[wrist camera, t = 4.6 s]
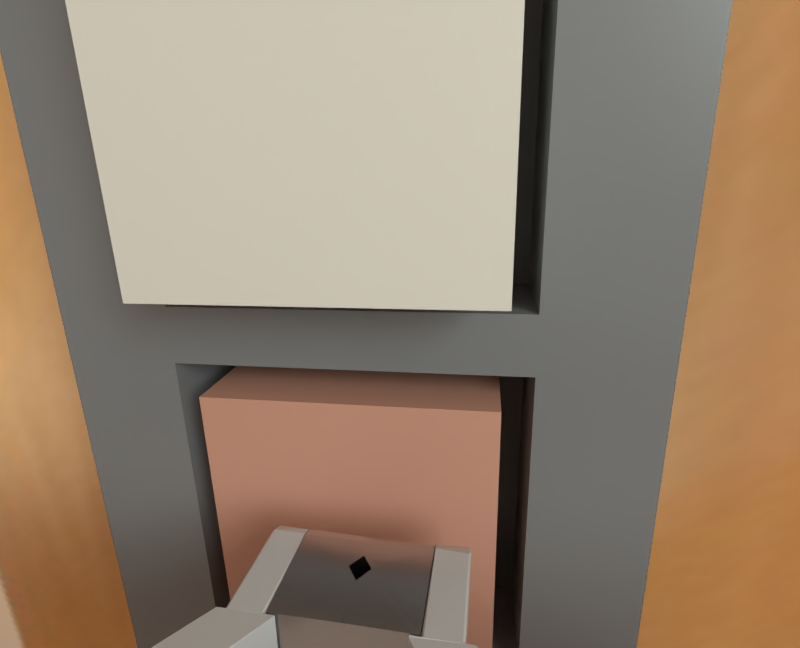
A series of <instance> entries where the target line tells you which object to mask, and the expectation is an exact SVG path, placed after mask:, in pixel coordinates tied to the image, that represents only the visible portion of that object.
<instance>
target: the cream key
mask: <svg viewBox="0 0 800 648" xmlns="http://www.w3.org/2000/svg"><path fill="white" fill-rule="evenodd" d="M65 3H66V8H67V14H68V19H69V24H70V29H71V34H72V40H73V45H74V50H75V55H76V60H77V66H78V71H79V76H80V81H81V87H82V92H83V97H84V102H85V107H86V113H87V118H88V123H89V128H90V133H91V139H92V144H93V149H94V154H95V160H96V165H97V170H98V175H99V180H100V186H101V191H102V196H103V201H104V206H105V212H106V217H107V222H108V227H109V232H110V238H111V243H112V248H113V253H114V259H115V264H116V269H117V274H118V279H119V285H120V290H121V295H122V300H123V303H125V304H174V305H224V306H274V307H324V308H374V309H424V310H473V311H512V289H513V266H514V242H515V219H516V196H517V172H518V149H519V126H520V102H521V79H522V56H523V33H524V9H525V0H65Z"/></svg>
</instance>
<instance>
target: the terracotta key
mask: <svg viewBox="0 0 800 648" xmlns="http://www.w3.org/2000/svg"><path fill="white" fill-rule="evenodd" d="M199 400H200V407H201V413H202V420H203V426H204V433H205V439H206V446H207V452H208V459H209V465H210V471H211V478H212V484H213V491H214V497H215V504H216V510H217V517H218V523H219V530H220V536H221V543H222V549H223V555H224V562H225V568H226V575H227V581H228V588H229V594H230V601H231V599H232V597H233V596H234V594H235V592H236V591H237V589H238V588H239V586H240V584H241V583H242V581H243V579H244V578H245V576H246V574H247V573H248V571H249V569H250V568H251V566H252V564H253V563H254V561H255V560H256V558H257V556H258V555H259V553H260V551H261V550H262V548H263V546H264V545H265V543H266V541H267V540H268V538H269V536H270V535H271V533H272V532H273V531H274V530H275V529H276V528H278V527H279V526H280V525H282V526H289V527H296V528H303V529H308V530H311V529H314V530H321V531H328V532H335V533H342V534H349V535H356V536H363V537H370V538H378V539H387V540H396V541H405V542H414V543H423V544H432V545H437V544H439V545H450V546H460V547H469V548H470V550H471V568H470V591H469V614H468V638H467V644H471V645H476V646H478V648H492V640H493V615H494V589H495V563H496V538H497V512H498V487H499V461H500V436H501V398H500V383H499V376H485V375H460V374H435V373H410V372H384V371H359V370H334V369H309V368H283V367H258V366H236V367H235V368H234V369H233V370H231V371H230V372H229V373H228V374H226V375H225V376H224V377H223V378H222V379H220V380H219V381H218V382H217V383H216V384H214V385H213V386H212V387H211V388H209V389H208V390H207V391H206V392H205V393H203V394H202V395H201V396H200V397H199Z"/></svg>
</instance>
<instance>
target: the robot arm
mask: <svg viewBox="0 0 800 648" xmlns="http://www.w3.org/2000/svg"><path fill="white" fill-rule="evenodd" d="M470 568H471V550H470V548H469V547H460V546H450V545H439V544H437V545H432V544H423V543H414V542H405V541H396V540H387V539H378V538H370V537H363V536H356V535H349V534H342V533H335V532H328V531H321V530H314V529H311V530H308V529H303V528H296V527H289V526H282V525H280V526H279V527H278V528H276V529H275V530H274V531H273V532H272V533H271V535H270V536H269V538H268V540H267V541H266V543H265V545H264V546H263V548H262V550H261V551H260V553H259V555H258V556H257V558H256V560H255V561H254V563H253V564H252V566H251V568H250V569H249V571H248V573H247V574H246V576H245V578H244V579H243V581H242V583H241V584H240V586H239V588H238V589H237V591H236V592H235V594H234V596H233V597H232V599H231V601H230V602H229V604H228V606H227V607H226V608H222V607H215V608H213V609H212V610H210V611H209V612H207V613H206V614H204V615H202V616H201V617H199V618H198V619H196V620H194V621H193V622H191V623H190V624H188V625H186V626H185V627H183V628H182V629H180V630H179V631H177V632H175V633H174V634H172V635H171V636H169V637H167V638H166V639H164V640H163V641H161V642H159V643H158V644H156V645H155V646H153V647H151V648H478V646H476V645H471V644H467V638H468V614H469V591H470Z"/></svg>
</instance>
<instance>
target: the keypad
mask: <svg viewBox="0 0 800 648" xmlns="http://www.w3.org/2000/svg"><path fill="white" fill-rule="evenodd" d="M732 2H733V0H525V9H524V33H523V56H522V79H521V102H520V126H519V149H518V172H517V196H516V219H515V242H514V266H513V289H512V311H473V310H424V309H374V308H324V307H274V306H224V305H174V304H125V303H123V300H122V295H121V290H120V285H119V279H118V274H117V269H116V264H115V259H114V253H113V248H112V243H111V238H110V232H109V227H108V222H107V217H106V212H105V206H104V201H103V196H102V191H101V186H100V180H99V175H98V170H97V165H96V160H95V154H94V149H93V144H92V139H91V133H90V128H89V123H88V118H87V113H86V107H85V102H84V97H83V92H82V87H81V81H80V76H79V71H78V66H77V60H76V55H75V50H74V45H73V40H72V34H71V29H70V24H69V19H68V14H67V8H66V3H65V0H0V52H1V57H2V61H3V65H4V70H5V74H6V78H7V83H8V87H9V91H10V96H11V100H12V104H13V109H14V113H15V117H16V122H17V126H18V130H19V135H20V139H21V143H22V148H23V152H24V156H25V161H26V165H27V169H28V174H29V178H30V182H31V187H32V191H33V195H34V200H35V204H36V208H37V213H38V217H39V221H40V226H41V230H42V234H43V239H44V243H45V247H46V252H47V256H48V260H49V265H50V269H51V273H52V278H53V282H54V286H55V291H56V295H57V299H58V304H59V308H60V312H61V317H62V321H63V325H64V330H65V334H66V338H67V343H68V347H69V351H70V356H71V360H72V364H73V369H74V373H75V377H76V382H77V386H78V390H79V395H80V399H81V403H82V408H83V412H84V416H85V421H86V425H87V429H88V434H89V438H90V442H91V447H92V451H93V455H94V460H95V464H96V468H97V473H98V477H99V481H100V486H101V490H102V494H103V499H104V503H105V507H106V512H107V516H108V520H109V525H110V529H111V533H112V538H113V542H114V546H115V551H116V555H117V559H118V564H119V568H120V572H121V577H122V581H123V585H124V590H125V594H126V598H127V603H128V607H129V611H130V616H131V620H132V624H133V629H134V633H135V637H136V642H137V646H138V648H151V647H153V646H155V645H156V644H158V643H159V642H161V641H163V640H164V639H166V638H167V637H169V636H171V635H172V634H174V633H175V632H177V631H179V630H180V629H182V628H183V627H185V626H186V625H188V624H190V623H191V622H193V621H194V620H196V619H198V618H199V617H201V616H202V615H204V614H206V613H207V612H209V611H210V610H212V609H213V608H215V607H222V608H226V607H227V606H228V604H229V602H230V594H229V588H228V581H227V575H226V568H225V562H224V555H223V549H222V543H221V536H220V530H219V523H218V517H217V510H216V504H215V497H214V491H213V484H212V478H211V471H210V465H209V459H208V452H207V446H206V439H205V433H204V426H203V420H202V413H201V407H200V400H199V397H200V396H201V395H202V394H203V393H205V392H206V391H207V390H208V389H209V388H211V387H212V386H213V385H214V384H216V383H217V382H218V381H219V380H220V379H222V378H223V377H224V376H225V375H226V374H228V373H229V372H230V371H231V370H233V369H234V368H235V367H236V366H258V367H283V368H309V369H334V370H359V371H384V372H410V373H435V374H460V375H485V376H499V383H500V398H501V436H500V461H499V487H498V512H497V538H496V563H495V589H494V615H493V640H492V648H636V646H637V639H638V633H639V626H640V619H641V613H642V606H643V599H644V592H645V586H646V579H647V572H648V566H649V559H650V552H651V545H652V539H653V532H654V525H655V519H656V512H657V505H658V499H659V492H660V485H661V478H662V472H663V465H664V458H665V452H666V445H667V438H668V431H669V425H670V418H671V411H672V405H673V398H674V391H675V384H676V378H677V371H678V364H679V358H680V351H681V344H682V337H683V331H684V324H685V317H686V311H687V304H688V297H689V290H690V284H691V277H692V270H693V264H694V257H695V250H696V243H697V237H698V230H699V223H700V217H701V210H702V203H703V197H704V190H705V183H706V176H707V170H708V163H709V156H710V150H711V143H712V136H713V129H714V123H715V116H716V109H717V103H718V96H719V89H720V82H721V76H722V69H723V62H724V56H725V49H726V42H727V35H728V29H729V22H730V15H731V9H732Z"/></svg>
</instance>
